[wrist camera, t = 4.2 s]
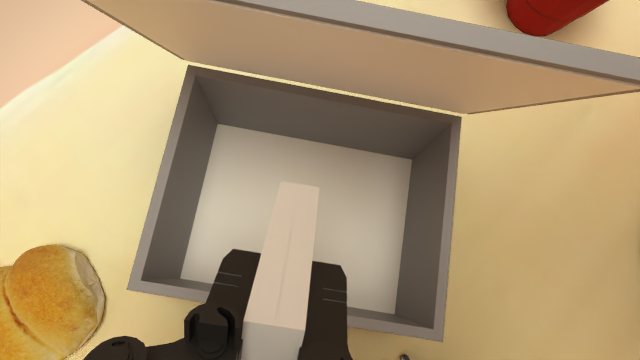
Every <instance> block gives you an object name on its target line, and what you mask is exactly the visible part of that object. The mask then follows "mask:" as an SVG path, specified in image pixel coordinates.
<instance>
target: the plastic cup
mask: <svg viewBox="0 0 640 360" xmlns="http://www.w3.org/2000/svg"><path fill="white" fill-rule="evenodd" d="M607 1H609V0H508V3H507V11H508V16H509V18H510V19H511V21H512V22H513V24H514V25H515V26H516V27H517V28H518V29H520V30H521V31H522V32H524V33H527V34H530V35H533V36H546V35H548V34H551V33H553V32H555V31H557V30H559V29H561V28H563V27H564V26H566V25H567V24H569V23H571V22H572V21H574V20H575V19H577V18H579V17H582V16H584V15H585V14H587V13H589V12H590V11H592V10H594V9H595V8H597V7H599V6H600V5H602V4H604V3H605V2H607Z"/></svg>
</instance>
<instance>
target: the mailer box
mask: <svg viewBox="0 0 640 360" xmlns="http://www.w3.org/2000/svg"><path fill="white" fill-rule="evenodd" d="M460 129H461V117H459V116H454V115H448V114H443V113H438V112H433V111H428V110H422V109H417V108H412V107H407V106H401V105H396V104H391V103H386V102H380V101H375V100H370V99H365V98H359V97H354V96H349V95H344V94H338V93H333V92H328V91H323V90H317V89H312V88H307V87H302V86H296V85H291V84H286V83H281V82H275V81H270V80H265V79H260V78H254V77H249V76H244V75H239V74H233V73H228V72H223V71H218V70H212V69H207V68H202V67H197V66H191V65H188V67H187V71H186V75H185V78H184V82H183V86H182V89H181V93H180V97H179V100H178V104H177V108H176V111H175V115H174V119H173V122H172V126H171V129H170V133H169V137H168V140H167V144H166V148H165V151H164V155H163V159H162V162H161V166H160V170H159V173H158V177H157V181H156V184H155V188H154V192H153V195H152V199H151V203H150V206H149V210H148V213H147V217H146V221H145V224H144V228H143V232H142V235H141V239H140V243H139V246H138V250H137V254H136V257H135V261H134V265H133V268H132V272H131V276H130V279H129V283H128V287H127V290H131V291H137V292H143V293H149V294H155V295H161V296H167V297H173V298H179V299H185V300H191V301H197V302H203V303H206V300H207V298H208V295H209V293H210V290H211V288H212V285H213V283H214V280H215V277H216V275H217V273H218V270H219V267H220V264H221V262H222V259H223V258H224V257H225V256H226V255H227V254H228V253H229V252H230V251H231V250H232V249H239V250H245V251H251V252H257V253H262V249H263V246H264V242H265V238H266V235H267V231H268V227H269V223H270V220H271V216H272V212H273V209H274V205H275V201H276V197H277V194H278V190H279V186H280V183H281V181H286V182H291V183H297V184H303V185H309V186H315V187H320V188H319V198H318V208H317V218H316V228H315V238H314V247H313V257H312V261H318V262H324V263H330V264H336V265H341V267H342V269H343V271H344V273H345V275H346V277H347V326H349V327H355V328H361V329H367V330H373V331H379V332H385V333H391V334H397V335H403V336H409V337H415V338H421V339H427V340H433V341H439V342H443V333H444V321H445V309H446V297H447V285H448V273H449V261H450V249H451V237H452V225H453V213H454V201H455V189H456V177H457V165H458V153H459V141H460Z"/></svg>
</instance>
